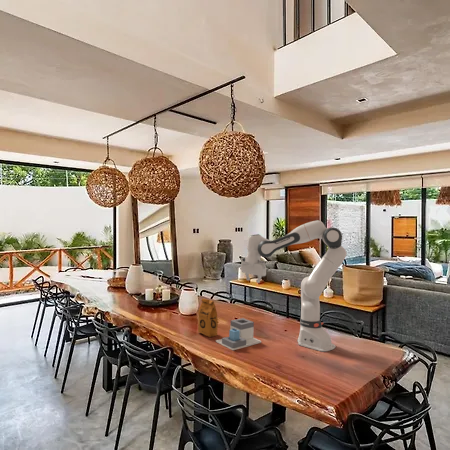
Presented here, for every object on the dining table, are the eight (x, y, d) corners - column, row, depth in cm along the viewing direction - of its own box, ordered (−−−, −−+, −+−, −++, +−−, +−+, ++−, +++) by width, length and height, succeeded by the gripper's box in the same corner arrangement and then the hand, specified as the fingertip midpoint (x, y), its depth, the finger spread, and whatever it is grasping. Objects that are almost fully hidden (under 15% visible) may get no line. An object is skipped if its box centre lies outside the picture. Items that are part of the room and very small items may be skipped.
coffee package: (207, 338, 209) (208, 302, 209) (195, 333, 219) (196, 298, 219) (220, 335, 216) (220, 300, 216) (208, 330, 225) (209, 296, 225)
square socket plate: (261, 342, 205) (261, 324, 205) (232, 350, 191) (233, 330, 191) (243, 335, 217) (244, 317, 217) (215, 341, 204) (216, 323, 204)
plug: (239, 344, 198) (239, 329, 198) (233, 346, 195) (234, 330, 195) (234, 342, 201) (235, 327, 201) (229, 343, 199) (229, 328, 198)
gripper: (268, 261, 212) (268, 283, 212) (246, 257, 228) (246, 278, 228) (261, 261, 208) (260, 284, 208) (239, 258, 224) (239, 279, 224)
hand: (253, 281), depth 218 cm, fingers open, 8 cm apart
